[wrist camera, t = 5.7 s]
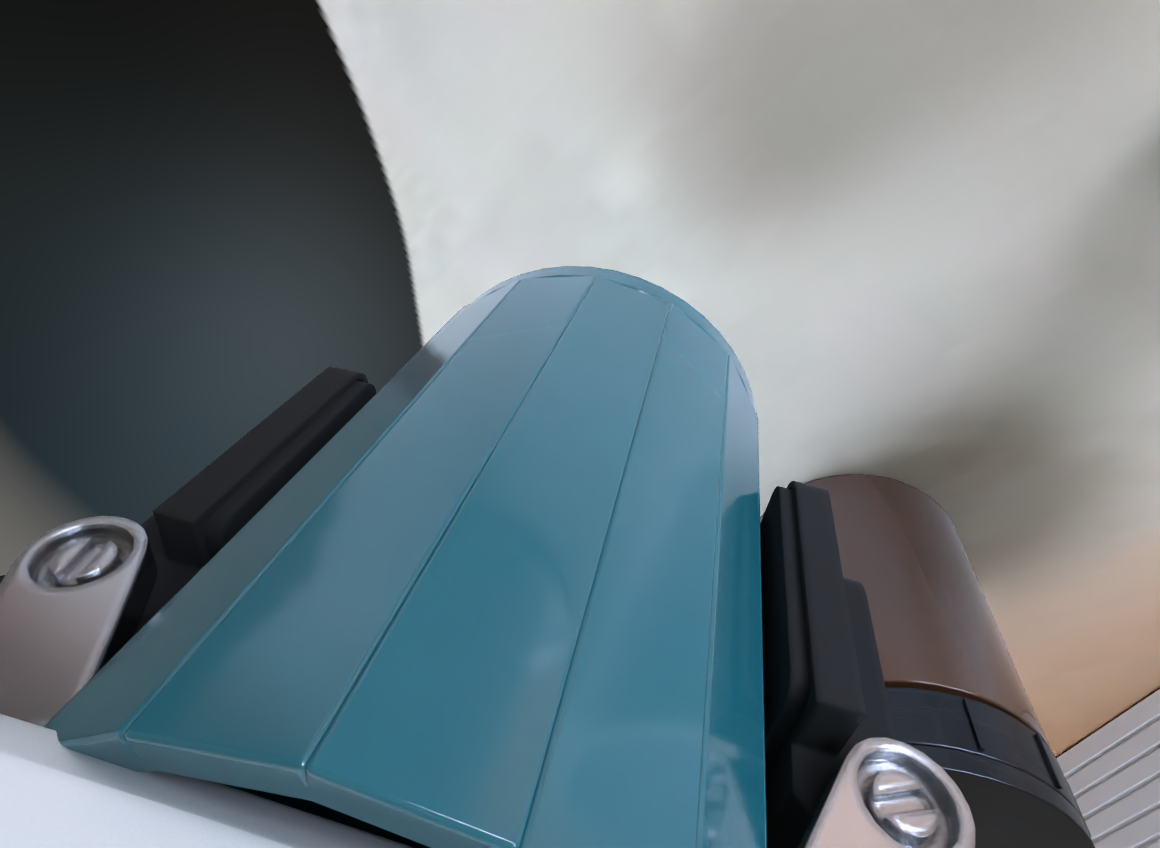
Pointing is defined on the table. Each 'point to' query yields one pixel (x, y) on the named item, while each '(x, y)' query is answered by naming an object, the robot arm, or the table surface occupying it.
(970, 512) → the table surface
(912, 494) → the jar
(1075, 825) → the jar lid
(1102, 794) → the stack of papers
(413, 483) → the cup
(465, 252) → the table surface
